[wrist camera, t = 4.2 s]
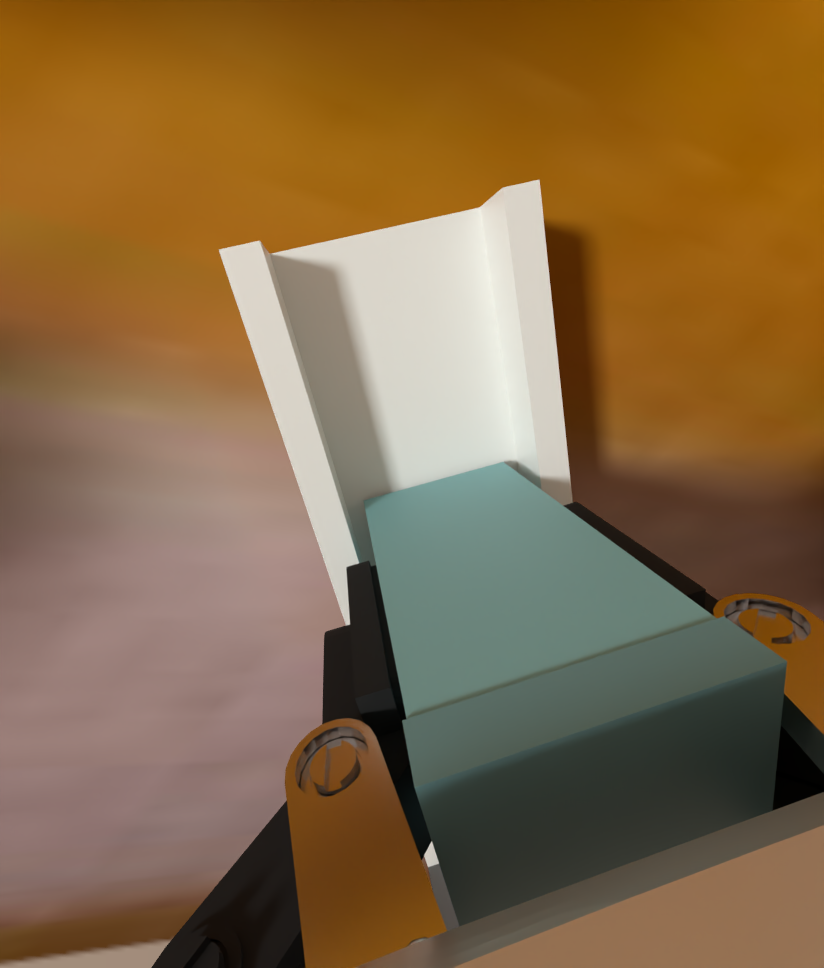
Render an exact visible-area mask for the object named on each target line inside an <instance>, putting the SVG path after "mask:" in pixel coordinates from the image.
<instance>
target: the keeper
mask: <svg viewBox="0 0 824 968" xmlns="http://www.w3.org/2000/svg"><path fill="white" fill-rule="evenodd" d="M363 501H364V506H365V511H366V516H367V521H368V526H369V531H370V537H371V542H372V547H373V552H374V557H375V562H376V567H377V572H378V577H379V582H380V587H381V592H382V597H383V602H384V607H385V612H386V617H387V623H388V628H389V633H390V638H391V643H392V648H393V653H394V658H395V663H396V668H397V673H398V678H399V683H400V688H401V693H402V698H403V703H404V708H405V714H406V720H402V723H403V728H404V734H405V739H406V744H407V750H408V755H409V761H410V766H411V771H412V777H413V782H414V788H415V791H416V794H417V797H418V800H419V803H420V806H421V809H422V812H423V815H424V819H425V822H426V825H427V828H428V831H429V834H430V837H431V840H432V843H433V846H434V849H435V853H436V856H437V859H438V862H439V865H440V868H441V871H442V874H443V877H444V880H445V883H446V886H447V890H448V893H449V896H450V899H451V902H452V905H453V908H454V911H455V914H456V917H457V920H458V924H459V927H460V926H462V925H465V924H468V923H470V922H473V921H476V920H478V919H481V918H484V917H486V916H489V915H492V914H495V913H497V912H500V911H503V910H505V909H508V908H511V907H513V906H516V905H519V904H521V903H524V902H527V901H529V900H532V899H535V898H537V897H540V896H543V895H545V894H548V893H551V892H553V891H556V890H559V889H561V888H564V887H567V886H569V885H572V884H575V883H577V882H580V881H583V880H586V879H588V878H591V877H594V876H596V875H599V874H602V873H604V872H607V871H610V870H612V869H615V868H618V867H620V866H623V865H626V864H629V863H631V862H634V861H637V860H640V859H642V858H645V857H648V856H650V855H653V854H656V853H659V852H661V851H664V850H667V849H669V848H672V847H675V846H678V845H680V844H683V843H686V842H688V841H691V840H694V839H697V838H699V837H702V836H705V835H708V834H710V833H713V832H716V831H718V830H721V829H724V828H727V827H729V826H732V825H735V824H738V823H740V822H743V821H746V820H749V819H751V818H754V817H757V816H760V815H762V814H765V813H768V812H770V811H772V809H773V799H774V789H775V779H776V769H777V758H778V748H779V738H780V728H781V718H782V708H783V698H784V687H785V677H786V667H787V661H786V660H785V659H783V658H782V657H780V656H779V655H778V654H776V653H775V652H773V651H772V650H771V649H769V648H768V647H766V646H765V645H764V644H762V643H761V642H759V641H758V640H757V639H755V638H754V637H752V636H751V635H750V634H748V633H747V632H745V631H744V630H743V629H741V628H740V627H738V626H737V625H736V624H734V623H733V622H731V621H730V620H729V619H727V618H726V617H724V616H723V617H720V618H716V617H714V616H713V615H712V614H710V613H709V612H708V611H706V610H705V609H703V608H702V607H701V606H699V605H698V604H697V603H695V602H694V601H693V600H691V599H690V598H688V597H687V596H686V595H684V594H683V593H682V592H680V591H679V590H678V589H676V588H675V587H673V586H672V585H671V584H669V583H668V582H667V581H665V580H664V579H663V578H661V577H660V576H658V575H657V574H656V573H654V572H653V571H652V570H650V569H649V568H647V567H646V566H645V565H643V564H642V563H641V562H639V561H638V560H637V559H635V558H634V557H632V556H631V555H630V554H628V553H627V552H626V551H624V550H623V549H622V548H620V547H619V546H617V545H616V544H615V543H613V542H612V541H611V540H609V539H608V538H607V537H605V536H604V535H602V534H601V533H600V532H598V531H597V530H596V529H594V528H593V527H591V526H590V525H589V524H587V523H586V522H585V521H583V520H582V519H581V518H579V517H578V516H576V515H575V514H574V513H572V512H571V511H570V510H568V509H567V508H566V507H564V506H563V505H561V504H560V503H559V502H557V501H556V500H555V499H553V498H552V497H551V496H549V495H548V494H546V493H545V492H544V491H542V490H541V489H540V488H538V487H537V486H535V485H534V484H533V483H531V482H530V481H529V480H527V479H526V478H525V477H523V476H522V475H520V474H519V473H518V472H516V471H515V470H514V469H512V468H511V467H510V466H508V465H507V464H505V463H504V462H501V463H497V464H494V465H490V466H486V467H483V468H479V469H476V470H472V471H468V472H465V473H461V474H457V475H454V476H450V477H447V478H443V479H439V480H436V481H432V482H428V483H425V484H421V485H418V486H414V487H410V488H407V489H403V490H400V491H396V492H392V493H389V494H385V495H381V496H378V497H374V498H371V499H367V500H363Z"/></svg>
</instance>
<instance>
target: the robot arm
mask: <svg viewBox="0 0 824 968" xmlns="http://www.w3.org/2000/svg"><path fill="white" fill-rule="evenodd" d="M563 506H564V507H566V508H567V509H568V510H570V511H571V512H572V513H574V514H575V515H576V516H578V517H579V518H581V519H582V520H583V521H585V522H586V523H587V524H589V525H590V526H591V527H593V528H594V529H596V530H597V531H598V532H600V533H601V534H602V535H604V536H605V537H607V538H608V539H609V540H611V541H612V542H613V543H615V544H616V545H617V546H619V547H620V548H622V549H623V550H624V551H626V552H627V553H628V554H630V555H631V556H632V557H634V558H635V559H637V560H638V561H639V562H641V563H642V564H643V565H645V566H646V567H647V568H649V569H650V570H652V571H653V572H654V573H656V574H657V575H658V576H660V577H661V578H663V579H664V580H665V581H667V582H668V583H669V584H671V585H672V586H673V587H675V588H676V589H678V590H679V591H680V592H682V593H683V594H684V595H686V596H687V597H688V598H690V599H691V600H693V601H694V602H695V603H697V604H698V605H699V606H701V607H702V608H703V609H705V610H706V611H708V612H709V613H710V614H712V615H713V616H714V617H716V618H720V617H723V616H724V617H726V618H727V619H729V620H730V621H731V622H733V623H734V624H736V625H737V626H738V627H740V628H741V629H743V630H744V631H745V632H747V633H748V634H750V635H751V636H752V637H754V638H755V639H757V640H758V641H759V642H761V643H762V644H764V645H765V646H766V647H768V648H769V649H771V650H772V651H773V652H775V653H776V654H778V655H779V656H780V657H782V658H783V659H785V660H786V661H787V667H786V677H785V687H784V698H783V708H782V718H781V728H780V738H779V748H778V758H777V769H776V779H775V789H774V799H773V809H772V811H770V812H768V813H765V814H762V815H760V816H757V817H754V818H751V819H749V820H746V821H743V822H740V823H738V824H735V825H732V826H729V827H727V828H724V829H721V830H718V831H716V832H713V833H710V834H708V835H705V836H702V837H699V838H697V839H694V840H691V841H688V842H686V843H683V844H680V845H678V846H675V847H672V848H669V849H667V850H664V851H661V852H659V853H656V854H653V855H650V856H648V857H645V858H642V859H640V860H637V861H634V862H631V863H629V864H626V865H623V866H620V867H618V868H615V869H612V870H610V871H607V872H604V873H602V874H599V875H596V876H594V877H591V878H588V879H586V880H583V881H580V882H577V883H575V884H572V885H569V886H567V887H564V888H561V889H559V890H556V891H553V892H551V893H548V894H545V895H543V896H540V897H537V898H535V899H532V900H529V901H527V902H524V903H521V904H519V905H516V906H513V907H511V908H508V909H505V910H503V911H500V912H497V913H495V914H492V915H489V916H486V917H484V918H481V919H478V920H476V921H473V922H470V923H468V924H465V925H462V926H460V927H457V928H454V929H452V930H449V931H447V929H446V926H445V924H444V921H443V918H442V915H441V913H440V910H439V907H438V904H437V902H436V899H435V896H434V894H433V891H432V888H431V885H430V883H429V880H428V877H427V874H426V872H425V869H424V866H423V864H422V861H421V860H422V858H423V857H424V855H425V853H426V851H427V849H428V847H429V845H430V843H431V841H432V840H431V837H430V834H429V831H428V828H427V825H426V822H425V819H424V815H423V812H422V809H421V806H420V803H419V800H418V797H417V794H416V791H415V788H414V782H413V777H412V771H411V766H410V761H409V755H408V750H407V744H406V739H405V734H404V728H403V723H402V720H406V714H405V708H404V703H403V698H402V693H401V688H400V683H399V678H398V673H397V668H396V663H395V658H394V653H393V648H392V643H391V638H390V633H389V628H388V623H387V617H386V612H385V607H384V602H383V597H382V592H381V587H380V582H379V577H378V572H377V567H376V565H374V566H371V564H370V562H369V561H365V562H362V563H358V564H355V565H351V566H348V567H346V571H347V586H348V601H349V615H350V625H347V626H343V627H340V628H336V629H333V630H330V631H326V632H325V636H324V675H323V723H322V725H321V726H319V727H318V728H316V729H314V730H313V731H311V732H310V733H309V734H308V735H307V736H306V737H305V738H304V739H303V740H302V741H301V742H300V743H299V744H298V745H297V747H296V748H295V750H294V751H293V753H292V754H291V756H290V759H289V762H288V764H287V767H286V773H285V788H286V797H287V801H286V802H285V803H284V805H283V806H282V807H281V808H280V809H279V811H278V812H277V813H276V814H275V815H274V817H273V818H272V819H271V820H270V822H269V823H268V824H267V825H266V826H265V828H264V829H263V830H262V831H261V832H260V834H259V835H258V836H257V837H256V838H255V840H254V841H253V842H252V843H251V845H250V846H249V847H248V848H247V849H246V851H245V852H244V853H243V854H242V855H241V857H240V858H239V859H238V860H237V861H236V863H235V864H234V865H233V866H232V868H231V869H230V870H229V871H228V872H227V874H226V875H225V876H224V877H223V878H222V880H221V881H220V882H219V883H218V885H217V886H216V887H215V888H214V889H213V891H212V892H211V893H210V894H209V895H208V897H207V898H206V899H205V900H204V901H203V903H202V904H201V905H200V906H199V908H198V909H197V910H196V911H195V912H194V914H193V915H192V916H191V917H190V918H189V920H188V921H187V922H186V923H185V925H184V926H183V927H182V928H181V929H180V931H179V932H178V933H177V934H176V935H175V937H174V938H173V939H172V940H171V941H170V943H169V944H168V945H167V946H166V948H165V949H164V950H163V952H162V953H161V955H160V956H159V958H158V959H157V960H156V962H155V963H154V965H153V966H152V968H824V622H823V621H822V620H820V619H819V618H818V617H817V616H815V615H814V614H813V613H811V612H810V611H808V610H806V609H805V608H803V607H801V606H800V605H798V604H796V603H793V602H791V601H788V600H785V599H783V598H779V597H775V596H770V595H766V594H755V593H744V594H735V595H731V596H728V597H725V598H723V599H722V600H720V601H718V600H716V599H715V598H713V597H712V596H710V595H709V594H708V593H706V589H704V588H703V587H701V586H700V585H698V584H697V583H696V582H694V581H693V580H691V579H690V578H688V577H687V576H685V575H684V574H682V573H681V572H679V571H678V570H676V569H675V568H673V567H672V566H670V565H669V564H668V563H666V562H665V561H663V560H662V559H660V558H659V557H657V556H656V555H654V554H653V553H651V552H650V551H648V550H647V549H645V548H644V547H642V546H641V545H640V544H638V543H637V542H635V541H634V540H632V539H631V538H629V537H628V536H626V535H625V534H623V533H622V532H620V531H619V530H617V529H616V528H615V527H613V526H612V525H610V524H609V523H607V522H606V521H604V520H603V519H601V518H600V517H598V516H597V515H595V514H594V513H592V512H591V511H589V510H588V509H587V508H585V507H584V506H582V505H581V504H579V503H577V502H574V503H570V504H567V505H563Z"/></svg>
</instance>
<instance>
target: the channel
mask: <svg viewBox="0 0 824 968" xmlns="http://www.w3.org/2000/svg"><path fill="white" fill-rule="evenodd" d="M219 252H220V255H221V258H222V261H223V264H224V267H225V270H226V273H227V276H228V278H229V281H230V284H231V287H232V290H233V293H234V296H235V299H236V302H237V305H238V308H239V311H240V314H241V317H242V320H243V323H244V326H245V329H246V332H247V335H248V337H249V340H250V343H251V346H252V349H253V352H254V355H255V358H256V361H257V364H258V367H259V370H260V373H261V376H262V379H263V382H264V385H265V388H266V391H267V393H268V396H269V399H270V402H271V405H272V408H273V411H274V414H275V417H276V420H277V423H278V426H279V429H280V432H281V435H282V438H283V441H284V444H285V447H286V449H287V452H288V455H289V458H290V461H291V464H292V467H293V470H294V473H295V476H296V479H297V482H298V485H299V488H300V491H301V494H302V497H303V500H304V503H305V505H306V508H307V511H308V514H309V517H310V520H311V523H312V526H313V529H314V532H315V535H316V538H317V541H318V544H319V547H320V550H321V553H322V556H323V559H324V562H325V564H326V567H327V570H328V573H329V576H330V579H331V582H332V585H333V588H334V591H335V594H336V597H337V600H338V603H339V606H340V609H341V612H342V615H343V618H344V620H345V623H346V626H347V625H350V615H349V601H348V586H347V571H346V567H348V566H351V565H355V564H358V563H362V562H365V561H369V562H370V564H371V566H374V565H376V562H375V557H374V552H373V547H372V542H371V537H370V531H369V526H368V521H367V516H366V511H365V506H364V501H363V500H367V499H371V498H374V497H378V496H381V495H385V494H389V493H392V492H396V491H400V490H403V489H407V488H410V487H414V486H418V485H421V484H425V483H428V482H432V481H436V480H439V479H443V478H447V477H450V476H454V475H457V474H461V473H465V472H468V471H472V470H476V469H479V468H483V467H486V466H490V465H494V464H497V463H501V462H504V463H505V464H507V465H508V466H510V467H511V468H512V469H514V470H515V471H516V472H518V473H519V474H520V475H522V476H523V477H525V478H526V479H527V480H529V481H530V482H531V483H533V484H534V485H535V486H537V487H538V488H540V489H541V490H542V491H544V492H545V493H546V494H548V495H549V496H551V497H552V498H553V499H555V500H556V501H557V502H559V503H560V504H561V505H567V504H570V503H573V500H572V490H571V481H570V471H569V461H568V452H567V442H566V432H565V423H564V413H563V403H562V394H561V384H560V374H559V365H558V355H557V345H556V336H555V326H554V316H553V307H552V297H551V287H550V278H549V268H548V258H547V249H546V239H545V229H544V220H543V210H542V200H541V191H540V181H539V180H536V181H531V182H527V183H522V184H517V185H513V186H508V187H504V188H502V189H501V190H499V191H498V192H497V193H496V194H495V195H494V196H492V197H491V198H490V199H489V200H488V201H487V202H486V203H484V204H483V205H482V206H481V207H480V208H476V209H471V210H467V211H462V212H458V213H453V214H449V215H444V216H439V217H435V218H430V219H426V220H421V221H417V222H412V223H408V224H403V225H399V226H394V227H390V228H385V229H381V230H376V231H372V232H367V233H363V234H358V235H354V236H349V237H345V238H340V239H336V240H331V241H327V242H322V243H318V244H313V245H308V246H304V247H299V248H295V249H290V250H286V251H281V252H277V253H272V254H269V252H268V251H267V250H266V248H265V247H264V246H263V244H262V243H261V241H256V242H252V243H247V244H242V245H238V246H233V247H229V248H224V249H220V250H219ZM424 856H425V859H426V862H427V865H428V869H429V874H430V880H431V885H432V891H433V894H434V896H435V899H436V902H437V904H438V907H439V910H440V913H441V915H442V918H443V921H444V924H445V926H446V929H447V931H449V930H452V929H454V928H457V927H459V924H458V920H457V917H456V914H455V911H454V908H453V905H452V902H451V899H450V896H449V893H448V890H447V886H446V883H445V880H444V877H443V874H442V871H441V868H440V865H439V862H438V859H437V856H436V853H435V849H434V846H433V843H432V841H431V843H430V845H429V847H428V849H427V851H426V853H425V855H424Z"/></svg>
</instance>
